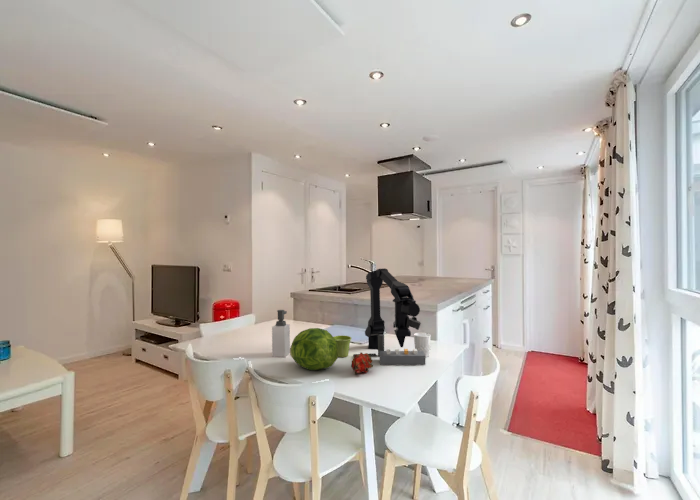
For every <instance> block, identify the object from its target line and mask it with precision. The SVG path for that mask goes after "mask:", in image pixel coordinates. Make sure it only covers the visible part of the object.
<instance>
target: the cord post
mask: <svg viewBox="0 0 700 500" xmlns="http://www.w3.org/2000/svg"><path fill="white" fill-rule="evenodd" d="M377 351H378V352H377V355H378V357H379V358H380V352H379V351H385V334H384V335H383V334H379V335H378V349H377Z"/></svg>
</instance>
